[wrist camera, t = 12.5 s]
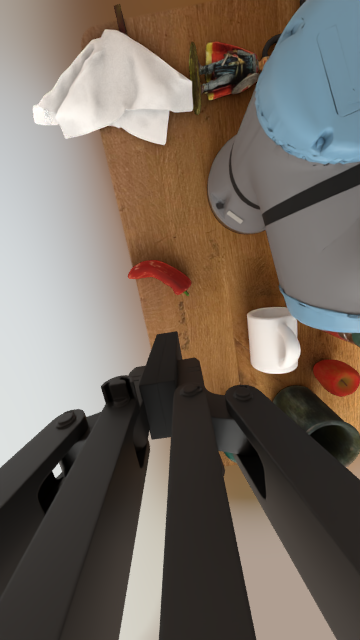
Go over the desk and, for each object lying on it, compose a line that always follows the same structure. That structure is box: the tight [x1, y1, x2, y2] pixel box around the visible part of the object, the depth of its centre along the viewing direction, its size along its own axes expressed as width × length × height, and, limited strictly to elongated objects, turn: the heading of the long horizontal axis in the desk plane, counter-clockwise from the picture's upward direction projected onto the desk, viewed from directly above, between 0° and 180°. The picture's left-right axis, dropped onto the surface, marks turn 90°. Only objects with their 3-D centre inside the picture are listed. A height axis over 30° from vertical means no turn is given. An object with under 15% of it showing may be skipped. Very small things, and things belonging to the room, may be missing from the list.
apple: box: [313, 359, 360, 397], centre depth 40 cm, size 6×6×8 cm
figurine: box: [189, 41, 270, 115], centre depth 30 cm, size 8×5×12 cm
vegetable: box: [128, 260, 191, 296], centre depth 37 cm, size 4×5×12 cm
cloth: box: [33, 29, 193, 145], centre depth 31 cm, size 26×14×2 cm, turn 84°
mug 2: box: [273, 386, 360, 467], centre depth 41 cm, size 11×15×12 cm
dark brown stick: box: [114, 4, 127, 35], centre depth 31 cm, size 15×1×1 cm
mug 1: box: [247, 307, 301, 374], centre depth 36 cm, size 8×10×12 cm
